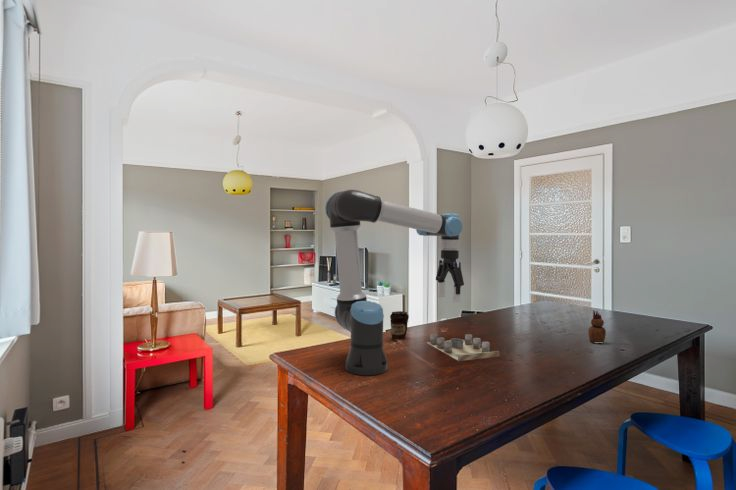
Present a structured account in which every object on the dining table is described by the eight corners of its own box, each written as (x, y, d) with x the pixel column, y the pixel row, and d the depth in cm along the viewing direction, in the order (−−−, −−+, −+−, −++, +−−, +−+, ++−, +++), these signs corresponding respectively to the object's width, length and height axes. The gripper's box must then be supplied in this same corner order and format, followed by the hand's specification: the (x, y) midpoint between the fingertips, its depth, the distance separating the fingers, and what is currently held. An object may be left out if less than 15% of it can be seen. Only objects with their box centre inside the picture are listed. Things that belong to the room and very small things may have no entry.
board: (458, 365, 150) (459, 350, 150) (426, 345, 175) (426, 333, 175) (499, 360, 156) (499, 346, 156) (462, 342, 181) (462, 330, 181)
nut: (453, 349, 165) (454, 341, 165) (447, 346, 170) (447, 338, 170) (466, 348, 167) (466, 340, 167) (459, 344, 172) (459, 337, 171)
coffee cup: (407, 344, 177) (407, 314, 177) (388, 342, 179) (388, 313, 179) (409, 338, 186) (409, 310, 185) (391, 337, 188) (391, 310, 187)
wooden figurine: (590, 344, 180) (591, 310, 180) (586, 340, 186) (587, 308, 185) (607, 345, 178) (608, 311, 178) (602, 341, 184) (603, 309, 183)
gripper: (473, 251, 164) (472, 303, 164) (443, 248, 186) (442, 294, 187) (457, 251, 161) (456, 304, 162) (428, 248, 184) (427, 295, 185)
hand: (448, 299), depth 175 cm, fingers open, 12 cm apart
